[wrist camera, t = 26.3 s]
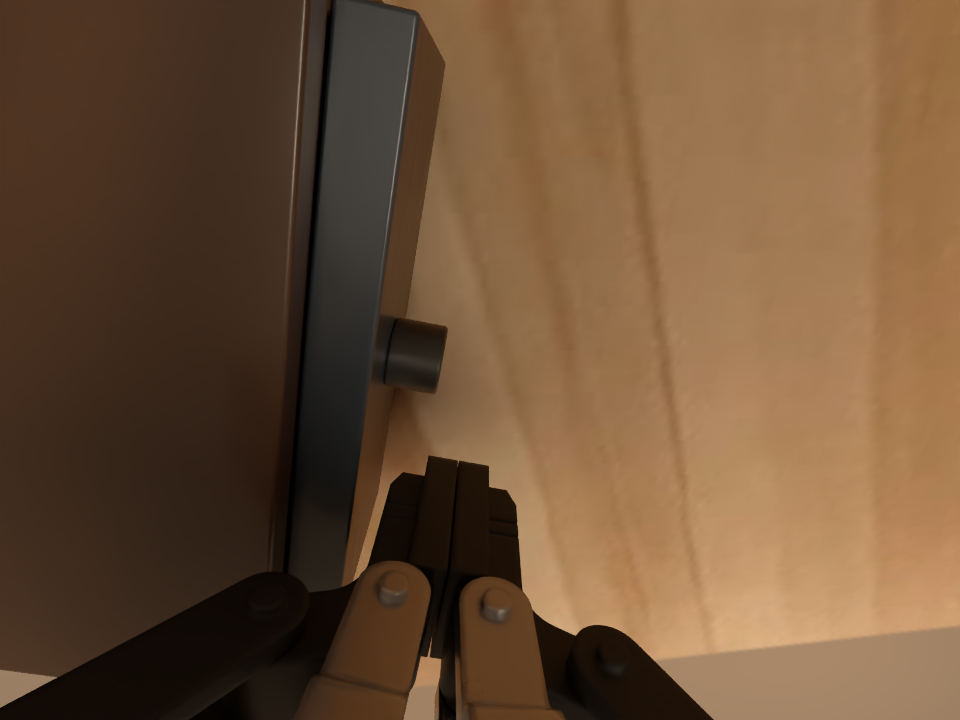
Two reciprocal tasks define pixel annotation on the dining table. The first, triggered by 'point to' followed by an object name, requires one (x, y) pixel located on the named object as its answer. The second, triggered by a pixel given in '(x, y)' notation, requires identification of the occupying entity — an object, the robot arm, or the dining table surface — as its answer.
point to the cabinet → (148, 307)
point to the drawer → (361, 279)
